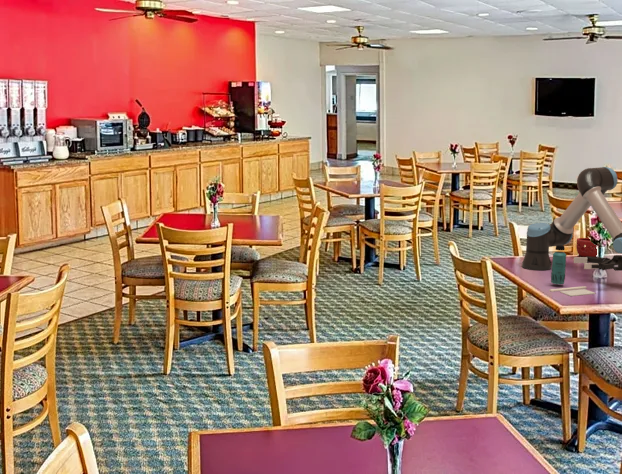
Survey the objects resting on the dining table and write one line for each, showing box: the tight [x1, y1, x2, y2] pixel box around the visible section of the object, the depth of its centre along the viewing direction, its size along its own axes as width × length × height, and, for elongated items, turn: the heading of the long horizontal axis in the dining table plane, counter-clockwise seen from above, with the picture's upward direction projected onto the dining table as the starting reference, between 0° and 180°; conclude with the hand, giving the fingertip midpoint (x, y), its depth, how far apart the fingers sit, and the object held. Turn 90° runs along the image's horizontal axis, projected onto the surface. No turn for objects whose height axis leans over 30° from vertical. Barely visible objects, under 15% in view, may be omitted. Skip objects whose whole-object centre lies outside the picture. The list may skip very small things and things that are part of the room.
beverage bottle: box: [550, 245, 567, 285], centre depth 383 cm, size 6×7×20 cm
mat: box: [559, 288, 597, 297], centre depth 371 cm, size 8×14×1 cm, turn 110°
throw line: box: [548, 285, 588, 293], centre depth 377 cm, size 2×20×1 cm, turn 110°
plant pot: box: [576, 237, 597, 257], centre depth 443 cm, size 13×13×12 cm
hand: (579, 263), depth 383 cm, fingers open, 13 cm apart
